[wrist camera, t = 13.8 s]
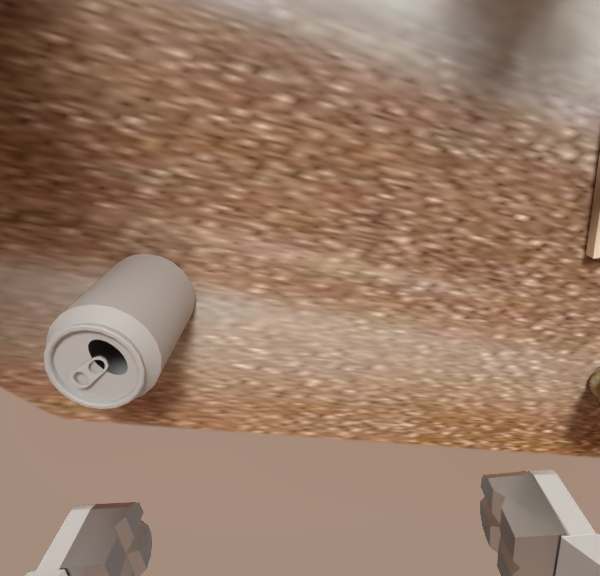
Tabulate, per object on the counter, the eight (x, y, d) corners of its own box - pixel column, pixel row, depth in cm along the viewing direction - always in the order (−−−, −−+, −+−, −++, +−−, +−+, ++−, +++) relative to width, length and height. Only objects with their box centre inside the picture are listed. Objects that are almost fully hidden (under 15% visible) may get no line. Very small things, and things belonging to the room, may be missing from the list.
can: (215, 300, 39) (178, 384, 28) (152, 343, 40) (94, 437, 30) (156, 232, 36) (89, 294, 25) (92, 281, 38) (4, 358, 27)
